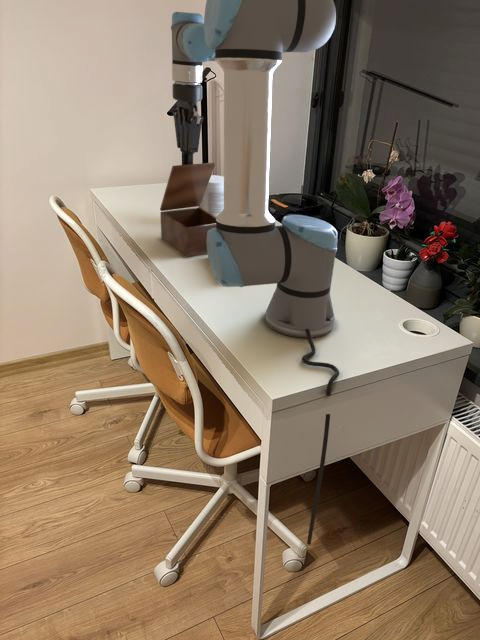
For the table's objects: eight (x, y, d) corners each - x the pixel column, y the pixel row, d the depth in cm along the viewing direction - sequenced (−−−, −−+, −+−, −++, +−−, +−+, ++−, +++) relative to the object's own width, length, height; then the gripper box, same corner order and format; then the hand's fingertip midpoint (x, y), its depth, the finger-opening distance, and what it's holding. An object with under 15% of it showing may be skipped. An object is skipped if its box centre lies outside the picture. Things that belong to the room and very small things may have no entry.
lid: (215, 164, 151) (214, 162, 151) (173, 167, 144) (172, 165, 145) (199, 206, 164) (198, 204, 164) (160, 211, 157) (159, 209, 158)
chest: (225, 250, 158) (226, 222, 153) (185, 257, 151) (185, 228, 147) (199, 233, 168) (199, 206, 164) (161, 239, 162) (160, 211, 158)
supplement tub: (233, 224, 178) (235, 178, 171) (220, 232, 171) (221, 184, 163) (206, 218, 181) (207, 173, 174) (192, 226, 174) (192, 179, 166)
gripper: (213, 86, 138) (211, 182, 150) (188, 80, 147) (188, 170, 159) (186, 86, 134) (186, 184, 146) (162, 79, 143) (164, 172, 155)
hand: (187, 177), depth 152 cm, fingers closed
